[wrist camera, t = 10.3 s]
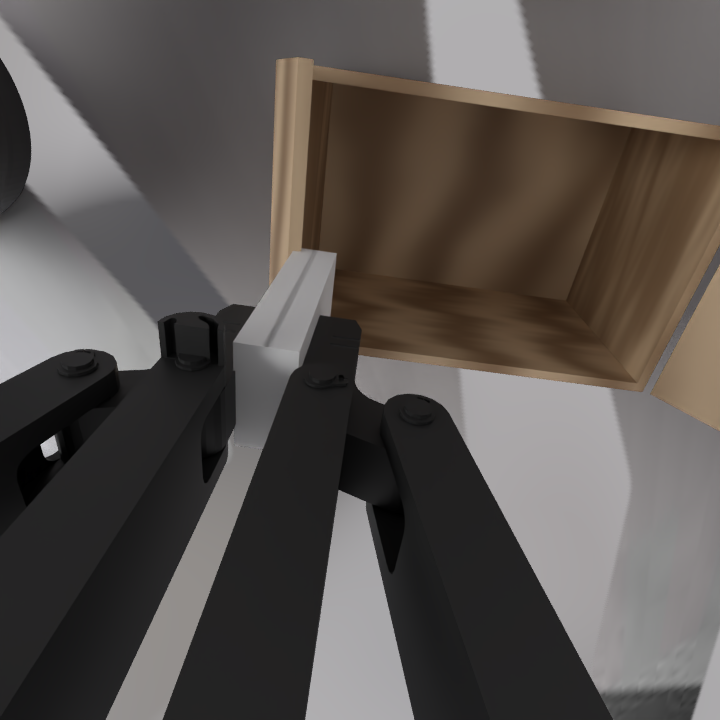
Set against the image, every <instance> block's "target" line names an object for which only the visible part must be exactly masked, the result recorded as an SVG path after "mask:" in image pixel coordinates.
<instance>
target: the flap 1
mask: <svg viewBox="0 0 720 720" xmlns="http://www.w3.org/2000/svg"><path fill="white" fill-rule="evenodd" d="M313 64H314V60H313V59H307V58H301V57H295V58H286V59H277V60H276V81H275V113H274V144H273V176H272V208H271V240H270V272H269V286H270V285H271V283H272V282H273V280H274V279H275V277H276V276H277V274H278V273H279V271H280V270H281V268H282V267H283V265H284V264H285V262H286V261H287V259H288V258H289V256H290V255H291V253H292V252H293V251H301V246H302V231H303V216H304V201H305V185H306V170H307V155H308V140H309V125H310V109H311V94H312V79H313Z"/></svg>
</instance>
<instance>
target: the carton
mask: <svg viewBox="0 0 720 720" xmlns="http://www.w3.org/2000/svg"><path fill="white" fill-rule="evenodd" d="M719 245H720V126H716V125H709V124H703V123H696V122H689V121H683V120H676V119H669V118H663V117H656V116H649V115H642V114H636V113H629V112H622V111H616V110H609V109H602V108H596V107H589V106H582V105H576V104H569V103H562V102H556V101H549V100H542V99H536V98H528V97H522V96H515V95H509V94H502V93H495V92H489V91H482V90H475V89H469V88H462V87H455V86H449V85H442V84H435V83H429V82H422V81H415V80H409V79H402V78H395V77H388V76H382V75H375V74H368V73H362V72H355V71H348V70H342V69H335V68H328V67H322V66H315V65H313V79H312V94H311V109H310V125H309V140H308V155H307V170H306V185H305V201H304V216H303V231H302V246H301V248H304V249H311V250H318V251H324V252H331V253H337V256H336V266H335V276H334V286H333V295H332V305H331V315H330V317H337V318H343V319H350V320H356V321H357V323H358V324H359V326H360V328H361V329H362V333H361V340H360V347H359V354H358V355H364V356H371V357H379V358H387V359H394V360H402V361H409V362H417V363H425V364H432V365H440V366H448V367H455V368H463V369H470V370H479V371H486V372H493V373H502V374H508V375H516V376H524V377H531V378H539V379H547V380H554V381H562V382H570V383H577V384H585V385H593V386H600V387H608V388H615V389H623V390H630V391H638V392H643V390H644V388H645V386H646V384H647V382H648V380H649V378H650V376H651V374H652V373H653V371H654V369H655V367H656V365H657V363H658V361H659V359H660V357H661V355H662V354H663V352H664V350H665V348H666V346H667V344H668V342H669V340H670V338H671V336H672V334H673V333H674V331H675V329H676V327H677V325H678V323H679V321H680V319H681V317H682V315H683V314H684V312H685V310H686V308H687V306H688V304H689V302H690V300H691V298H692V296H693V295H694V293H695V291H696V289H697V287H698V285H699V283H700V281H701V279H702V277H703V276H704V274H705V272H706V270H707V268H708V266H709V264H710V262H711V260H712V258H713V257H714V255H715V253H716V251H717V249H718V247H719Z"/></svg>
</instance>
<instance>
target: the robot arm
mask: <svg viewBox="0 0 720 720" xmlns="http://www.w3.org/2000/svg"><path fill="white" fill-rule="evenodd" d="M30 162H31V139H30V131H29V125H28V121H27V116H26V113H25V109H24V106H23V103H22V100H21V98H20V95H19V93H18V90H17V88H16V86H15V84H14V82H13V80H12V77H11V75H10V74H9V72H8V70H7V68H6V67H5V65H4V63H3V62H2V60H1V58H0V213H1V212H3V211H4V210H6V209H7V208H8V207H9V206H10V205H11V204H12V203H13V202H14V201H15V200H16V199H17V197H18V196H19V194H20V193H21V191H22V189H23V187H24V185H25V183H26V180H27V177H28V173H29V168H30ZM336 256H337V253H331V252H324V251H318V250H311V249H304V248H301V251H293V252H292V253H291V255H290V256H289V258H288V259H287V261H286V262H285V264H284V265H283V267H282V268H281V270H280V271H279V273H278V274H277V276H276V277H275V279H274V280H273V282H272V283H271V285H270V286H269V288H268V290H267V291H266V293H265V294H264V296H263V297H262V299H261V300H260V302H259V303H258V305H257V306H256V307H251V306H244V305H237V304H233V305H230V306H228V307H226V308H224V309H222V310H220V311H219V313H218V314H217V315H216V316H214V315H210V314H206V313H201V312H184V313H176V314H173V315H169V316H166V317H164V318H163V319H161V320H159V321H158V329H159V339H160V348H161V358H160V359H159V360H158V361H157V363H156V364H155V365H154V366H153V367H152V368H151V369H147V370H128V371H118V368H117V362H116V360H115V358H114V357H113V356H112V355H110V354H108V353H106V352H104V351H98V350H92V349H85V350H84V349H79V350H74V351H70V352H65V353H62V354H59V355H57V356H54V357H52V358H50V359H48V360H46V361H44V362H42V363H40V364H38V365H36V366H34V367H32V368H30V369H28V370H26V371H24V372H23V373H21V374H19V375H17V376H15V377H13V378H11V379H9V380H7V381H5V382H3V383H1V384H0V720H106V718H107V715H108V713H109V711H110V709H111V707H112V705H113V703H114V700H115V698H116V696H117V694H118V692H119V690H120V688H121V686H122V683H123V681H124V679H125V677H126V675H127V673H128V671H129V669H130V666H131V664H132V662H133V660H134V658H135V656H136V654H137V651H138V649H139V647H140V645H141V643H142V641H143V639H144V637H145V634H146V632H147V630H148V628H149V626H150V624H151V622H152V620H153V617H154V615H155V613H156V611H157V609H158V607H159V604H160V602H161V600H162V598H163V596H164V594H165V592H166V590H167V587H168V585H169V583H170V581H171V579H172V577H173V575H174V572H175V570H176V568H177V566H178V564H179V562H180V560H181V558H182V555H183V553H184V551H185V549H186V547H187V545H188V543H189V541H190V538H191V536H192V534H193V532H194V530H195V528H196V526H197V523H198V521H199V519H200V517H201V515H202V513H203V511H204V509H205V506H206V504H207V502H208V500H209V498H210V496H211V494H212V492H213V489H214V487H215V485H216V483H217V481H218V479H219V476H220V474H221V472H222V470H223V468H224V466H225V464H226V462H227V457H228V439H229V437H230V435H231V433H232V431H233V429H234V445H235V446H241V447H249V448H255V449H262V450H263V451H262V453H261V456H260V459H259V461H258V464H257V467H256V469H255V472H254V475H253V477H252V480H251V483H250V485H249V488H248V491H247V494H246V496H245V499H244V502H243V505H242V507H241V510H240V512H239V515H238V518H237V521H236V523H235V526H234V529H233V532H232V534H231V537H230V539H229V542H228V545H227V547H226V550H225V553H224V556H223V558H222V561H221V564H220V566H219V569H218V572H217V575H216V577H215V580H214V583H213V585H212V588H211V591H210V593H209V596H208V599H207V601H206V604H205V607H204V610H203V612H202V615H201V618H200V620H199V623H198V626H197V629H196V631H195V634H194V637H193V639H192V642H191V645H190V647H189V650H188V653H187V655H186V658H185V661H184V663H183V666H182V669H181V672H180V674H179V677H178V680H177V682H176V685H175V688H174V690H173V693H172V696H171V698H170V701H169V704H168V707H167V710H166V712H165V715H164V718H163V720H305V717H306V710H307V703H308V696H309V689H310V682H311V675H312V668H313V662H314V655H315V648H316V641H317V634H318V627H319V620H320V613H321V606H322V599H323V592H324V586H325V579H326V572H327V565H328V558H329V551H330V544H331V537H332V531H333V523H334V517H335V510H336V503H337V496H338V490H341V491H343V492H345V493H347V494H350V495H352V496H354V497H357V498H359V499H361V500H364V501H366V511H367V515H368V520H369V524H370V528H371V533H372V537H373V541H374V546H375V550H376V554H377V559H378V563H379V567H380V572H381V576H382V580H383V585H384V589H385V594H386V598H387V602H388V607H389V611H390V615H391V620H392V624H393V628H394V633H395V637H396V641H397V645H398V650H399V654H400V658H401V663H402V667H403V671H404V676H405V680H406V685H407V689H408V693H409V697H410V702H411V706H412V711H413V715H414V720H613V718H612V717H611V715H610V713H609V711H608V709H607V707H606V705H605V703H604V702H603V700H602V698H601V696H600V694H599V692H598V690H597V689H596V687H595V685H594V683H593V681H592V679H591V677H590V675H589V674H588V672H587V670H586V668H585V666H584V664H583V663H582V661H581V659H580V657H579V655H578V653H577V651H576V649H575V648H574V646H573V644H572V642H571V640H570V638H569V636H568V635H567V633H566V631H565V629H564V627H563V625H562V623H561V621H560V620H559V618H558V616H557V614H556V612H555V610H554V608H553V607H552V605H551V603H550V601H549V599H548V597H547V595H546V594H545V592H544V590H543V588H542V586H541V584H540V582H539V580H538V579H537V577H536V575H535V573H534V571H533V569H532V567H531V565H530V564H529V562H528V560H527V558H526V556H525V554H524V552H523V550H522V549H521V547H520V545H519V543H518V541H517V539H516V537H515V536H514V534H513V532H512V530H511V528H510V526H509V525H508V522H507V521H506V519H505V517H504V515H503V513H502V511H501V509H500V508H499V506H498V504H497V502H496V500H495V498H494V496H493V495H492V493H491V491H490V489H489V487H488V485H487V483H486V482H485V480H484V478H483V476H482V474H481V472H480V470H479V468H478V466H477V465H476V463H475V461H474V459H473V457H472V456H471V453H470V452H469V450H468V448H467V446H466V444H465V442H464V440H463V439H462V437H461V435H460V433H459V431H458V429H457V427H456V425H455V424H454V422H453V420H452V418H451V416H450V414H449V413H448V412H447V410H446V409H445V408H444V407H443V406H442V405H441V404H439V403H438V402H436V401H434V400H433V399H430V398H428V397H424V396H421V395H414V394H403V395H396V396H394V397H392V398H390V399H388V401H387V402H386V404H385V405H384V404H381V403H378V402H376V401H374V400H372V399H369V398H368V397H366V396H365V395H363V394H362V393H361V392H360V391H359V390H358V389H357V387H356V385H355V375H356V368H357V361H358V354H359V347H360V340H361V333H362V329H361V328H360V326H359V324H358V323H357V321H356V320H350V319H343V318H337V317H330V315H331V305H332V295H333V286H334V276H335V266H336ZM53 435H55V439H56V442H57V446H58V451H57V452H56V453H54V454H53V455H51V456H48V457H46V458H45V457H44V456H43V452H42V449H41V446H40V444H42V443H43V442H45V441H46V440H48V439H49V438H50V437H52V436H53Z"/></svg>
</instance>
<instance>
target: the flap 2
mask: <svg viewBox="0 0 720 720" xmlns="http://www.w3.org/2000/svg"><path fill="white" fill-rule="evenodd" d="M650 394H651V395H653V396H655V397H657V398H659V399H660V400H662V401H664V402H666V403H668V404H670V405H672V406H673V407H675V408H677V409H679V410H681V411H683V412H685V413H687V414H688V415H690V416H692V417H694V418H696V419H698V420H700V421H701V422H703V423H705V424H707V425H709V426H711V427H713V428H715V429H716V430H718V431H720V265H719V267H718V269H717V271H716V272H715V274H714V276H713V278H712V280H711V282H710V284H709V285H708V287H707V289H706V291H705V293H704V295H703V297H702V298H701V300H700V302H699V304H698V306H697V308H696V310H695V312H694V313H693V315H692V317H691V319H690V321H689V323H688V325H687V326H686V328H685V330H684V332H683V334H682V336H681V338H680V339H679V341H678V343H677V345H676V347H675V349H674V351H673V352H672V354H671V356H670V358H669V360H668V362H667V364H666V365H665V367H664V369H663V371H662V373H661V375H660V377H659V378H658V380H657V382H656V384H655V386H654V388H653V390H652V391H651V393H650Z"/></svg>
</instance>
